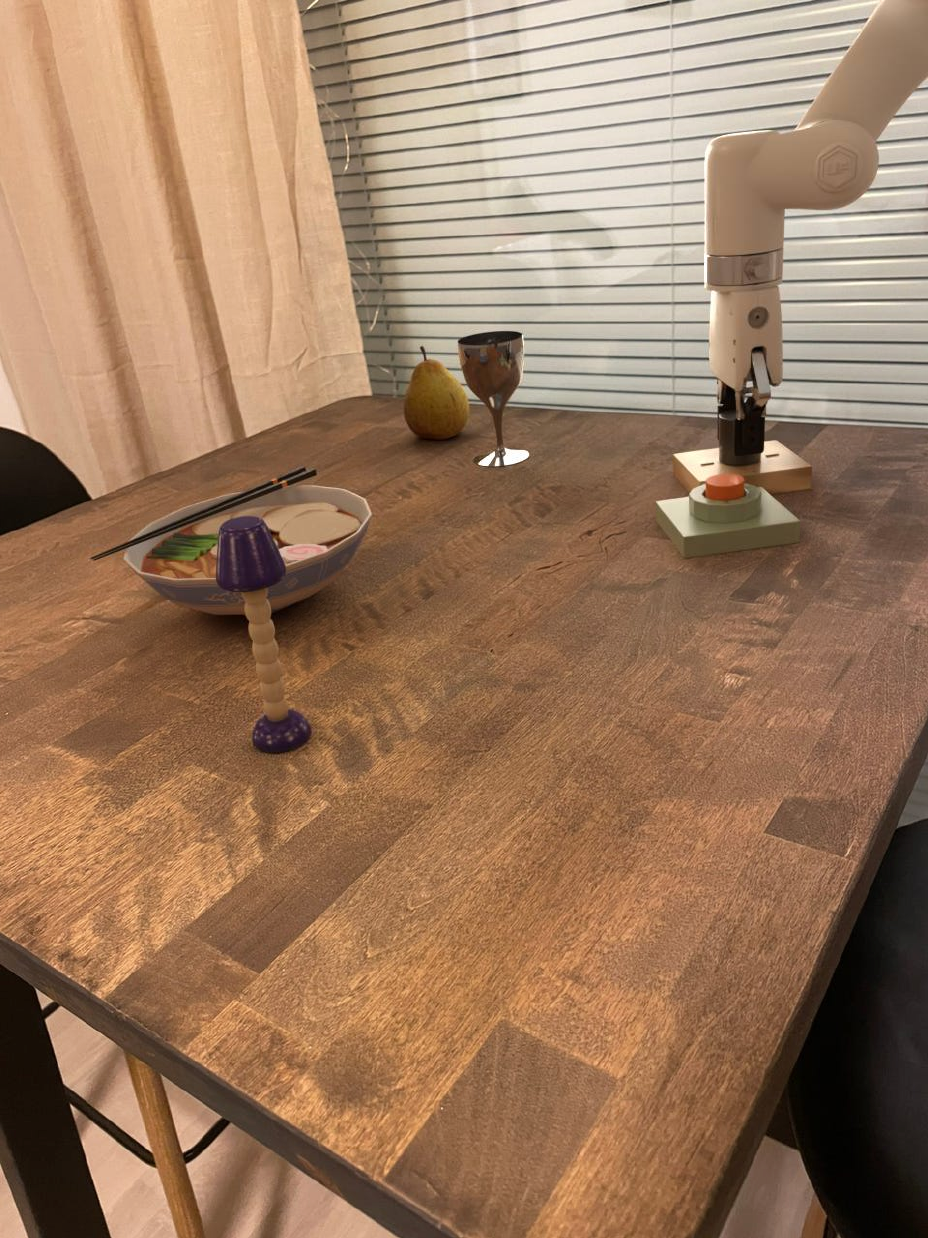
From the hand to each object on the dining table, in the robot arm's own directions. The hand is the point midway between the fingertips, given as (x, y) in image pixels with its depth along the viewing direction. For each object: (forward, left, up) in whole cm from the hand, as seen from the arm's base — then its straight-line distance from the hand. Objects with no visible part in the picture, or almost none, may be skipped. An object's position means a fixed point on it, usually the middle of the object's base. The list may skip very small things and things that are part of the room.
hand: (740, 445), depth 105 cm
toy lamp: (+47, +39, -4) cm, 61 cm away
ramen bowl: (+51, +14, -4) cm, 53 cm away
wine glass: (+24, -20, -4) cm, 32 cm away
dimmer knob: (0, 0, -2) cm, 2 cm away
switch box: (+6, +13, -4) cm, 15 cm away
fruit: (+31, -34, -4) cm, 46 cm away
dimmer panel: (0, 0, -4) cm, 4 cm away
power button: (+6, +13, -1) cm, 14 cm away
